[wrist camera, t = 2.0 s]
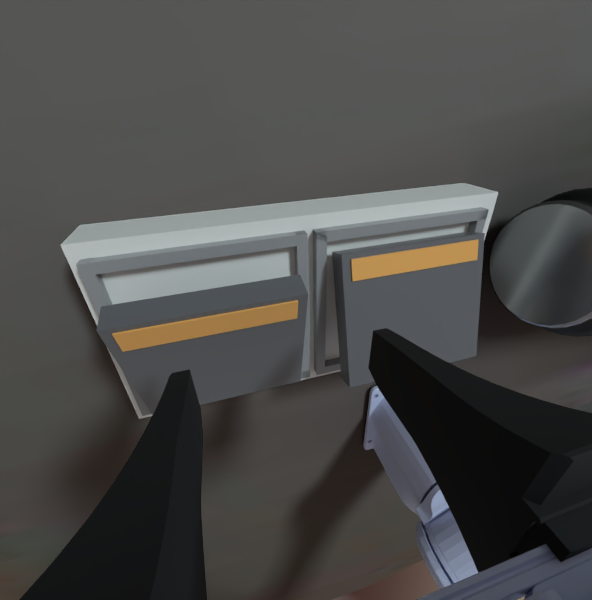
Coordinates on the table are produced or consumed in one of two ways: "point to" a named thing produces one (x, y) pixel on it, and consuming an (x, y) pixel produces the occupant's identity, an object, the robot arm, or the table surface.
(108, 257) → the switch panel
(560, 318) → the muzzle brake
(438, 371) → the robot arm
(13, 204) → the table surface
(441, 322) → the far rocker
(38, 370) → the table surface
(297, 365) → the near rocker
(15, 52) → the table surface
